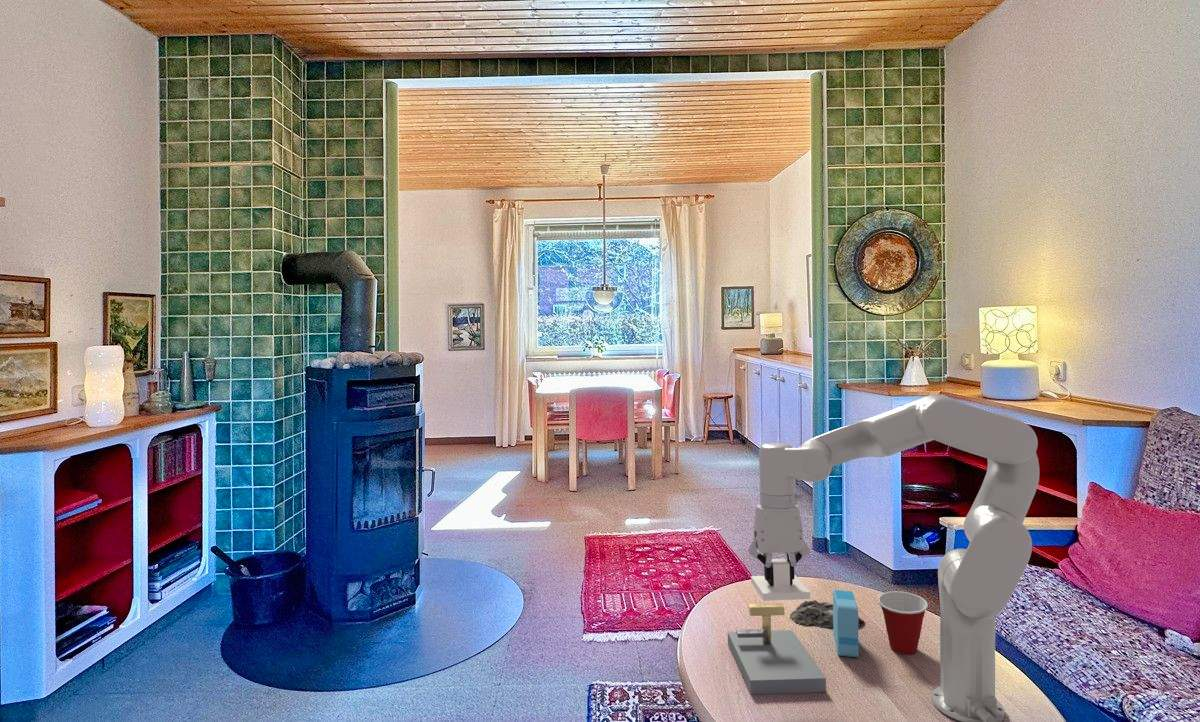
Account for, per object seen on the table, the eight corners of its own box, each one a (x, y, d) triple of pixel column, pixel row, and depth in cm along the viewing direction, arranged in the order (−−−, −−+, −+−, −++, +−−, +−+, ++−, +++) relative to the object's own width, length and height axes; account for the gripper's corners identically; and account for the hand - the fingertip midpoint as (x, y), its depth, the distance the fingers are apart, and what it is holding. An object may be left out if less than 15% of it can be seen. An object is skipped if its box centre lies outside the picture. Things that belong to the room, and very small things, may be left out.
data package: (858, 660, 145) (858, 609, 144) (838, 658, 146) (837, 607, 146) (852, 636, 156) (851, 589, 156) (833, 634, 158) (832, 587, 157)
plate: (825, 692, 132) (825, 678, 132) (750, 694, 132) (750, 680, 132) (792, 642, 154) (792, 630, 154) (727, 643, 154) (727, 631, 154)
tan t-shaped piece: (738, 644, 147) (737, 607, 147) (736, 640, 149) (735, 604, 149) (784, 643, 147) (784, 606, 147) (782, 639, 149) (782, 603, 149)
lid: (810, 599, 132) (809, 568, 132) (763, 600, 132) (762, 570, 132) (794, 581, 142) (794, 552, 142) (751, 582, 142) (750, 554, 142)
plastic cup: (869, 647, 151) (868, 598, 150) (892, 634, 157) (891, 587, 157) (914, 665, 142) (913, 613, 141) (936, 650, 148) (936, 600, 148)
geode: (786, 604, 177) (791, 627, 163) (786, 590, 177) (791, 613, 163) (857, 609, 173) (868, 634, 159) (857, 595, 173) (868, 619, 158)
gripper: (809, 494, 141) (810, 575, 141) (736, 497, 140) (738, 577, 141) (821, 503, 133) (823, 588, 134) (744, 506, 133) (746, 591, 133)
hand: (779, 582), depth 137 cm, fingers closed on lid, 3 cm apart
